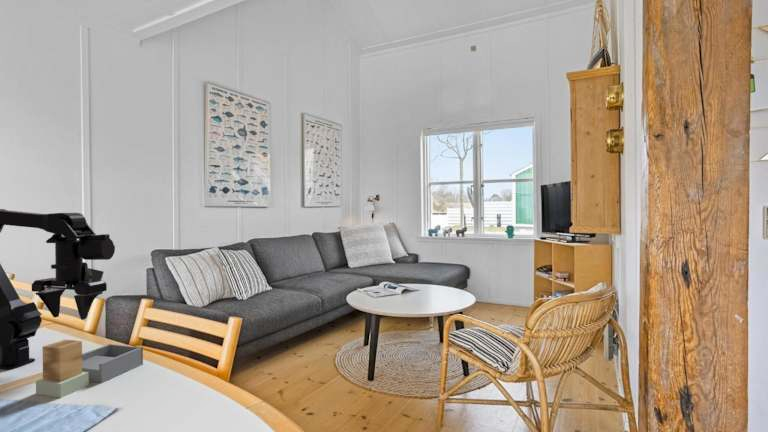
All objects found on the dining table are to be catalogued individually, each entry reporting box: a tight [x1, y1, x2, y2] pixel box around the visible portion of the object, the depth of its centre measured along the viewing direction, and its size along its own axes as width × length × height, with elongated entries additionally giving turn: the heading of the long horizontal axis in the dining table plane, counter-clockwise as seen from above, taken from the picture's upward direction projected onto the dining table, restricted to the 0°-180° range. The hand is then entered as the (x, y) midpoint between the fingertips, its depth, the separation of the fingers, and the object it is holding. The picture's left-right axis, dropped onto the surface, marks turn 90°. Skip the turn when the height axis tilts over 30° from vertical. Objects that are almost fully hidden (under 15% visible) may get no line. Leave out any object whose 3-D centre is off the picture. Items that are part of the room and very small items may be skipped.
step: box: [35, 372, 90, 399], centre depth 93 cm, size 7×6×3 cm
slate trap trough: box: [82, 343, 144, 384], centre depth 103 cm, size 11×12×4 cm
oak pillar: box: [42, 339, 83, 382], centre depth 93 cm, size 5×5×8 cm
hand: (69, 318), depth 108 cm, fingers open, 9 cm apart
